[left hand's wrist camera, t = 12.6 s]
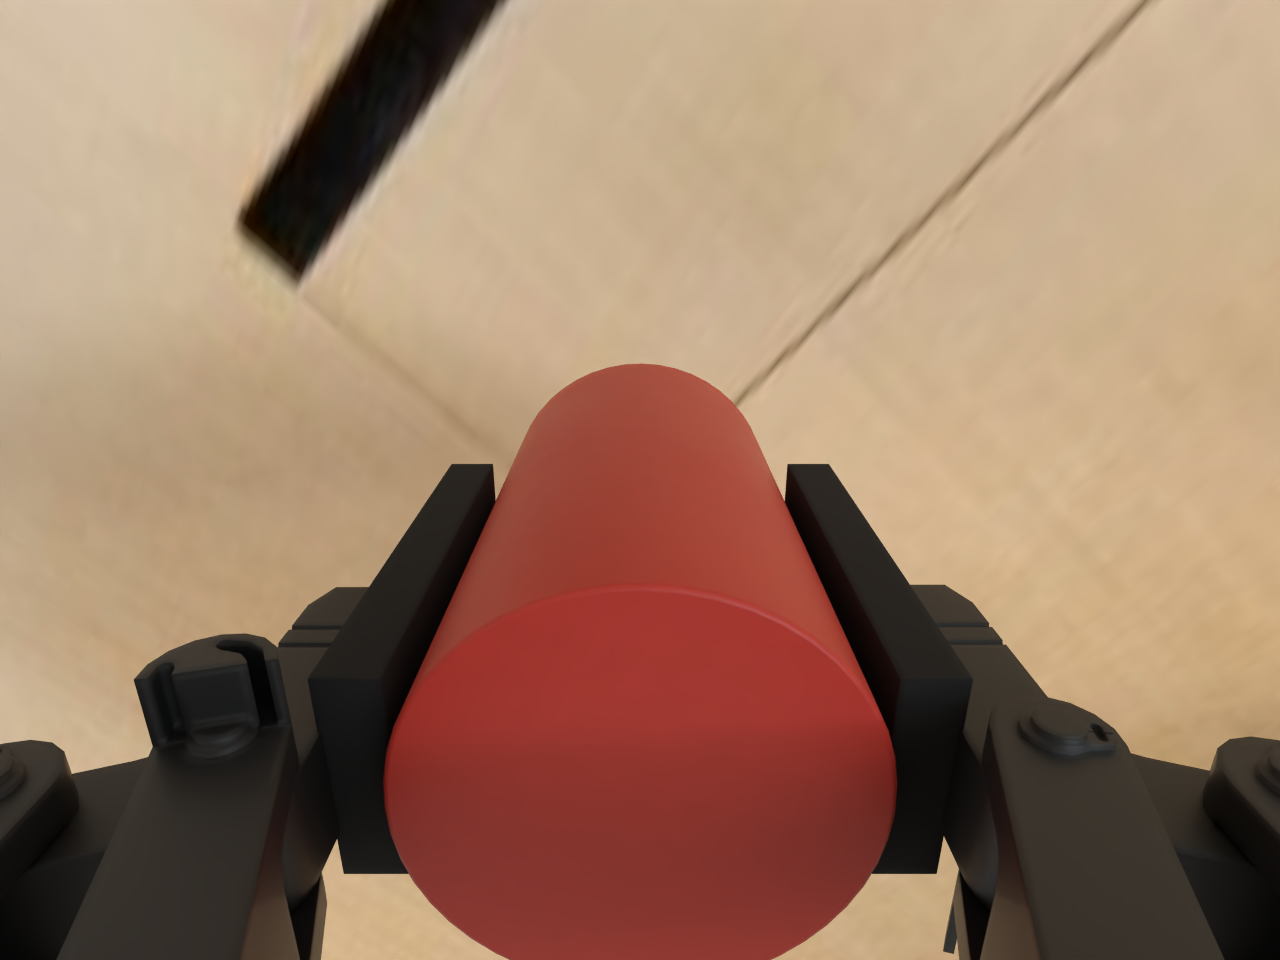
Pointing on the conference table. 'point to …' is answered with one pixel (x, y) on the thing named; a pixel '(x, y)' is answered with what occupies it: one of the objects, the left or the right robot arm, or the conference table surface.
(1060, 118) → the conference table surface
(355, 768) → the left robot arm
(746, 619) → the canister
